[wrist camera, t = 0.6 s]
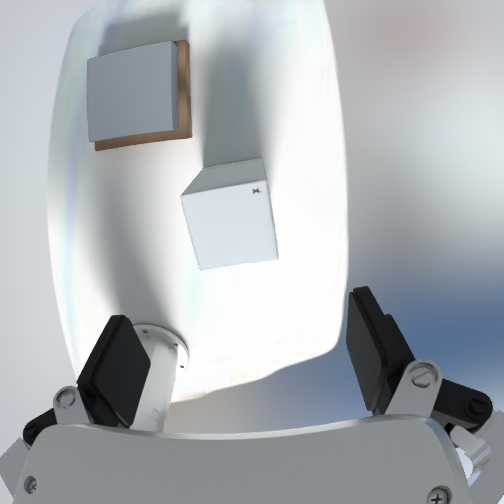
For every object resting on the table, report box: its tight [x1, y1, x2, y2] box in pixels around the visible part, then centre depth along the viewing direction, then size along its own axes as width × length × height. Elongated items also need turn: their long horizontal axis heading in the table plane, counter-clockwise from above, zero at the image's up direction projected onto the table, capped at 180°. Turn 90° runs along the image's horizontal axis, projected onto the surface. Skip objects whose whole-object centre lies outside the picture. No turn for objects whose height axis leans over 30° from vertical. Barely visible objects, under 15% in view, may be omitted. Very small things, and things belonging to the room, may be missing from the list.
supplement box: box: [180, 158, 279, 270], centre depth 29 cm, size 7×7×13 cm
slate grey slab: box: [87, 41, 179, 142], centre depth 26 cm, size 10×10×3 cm
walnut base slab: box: [95, 40, 192, 151], centre depth 29 cm, size 12×12×3 cm
